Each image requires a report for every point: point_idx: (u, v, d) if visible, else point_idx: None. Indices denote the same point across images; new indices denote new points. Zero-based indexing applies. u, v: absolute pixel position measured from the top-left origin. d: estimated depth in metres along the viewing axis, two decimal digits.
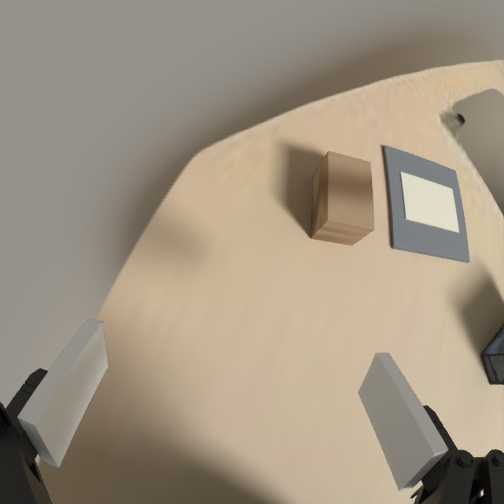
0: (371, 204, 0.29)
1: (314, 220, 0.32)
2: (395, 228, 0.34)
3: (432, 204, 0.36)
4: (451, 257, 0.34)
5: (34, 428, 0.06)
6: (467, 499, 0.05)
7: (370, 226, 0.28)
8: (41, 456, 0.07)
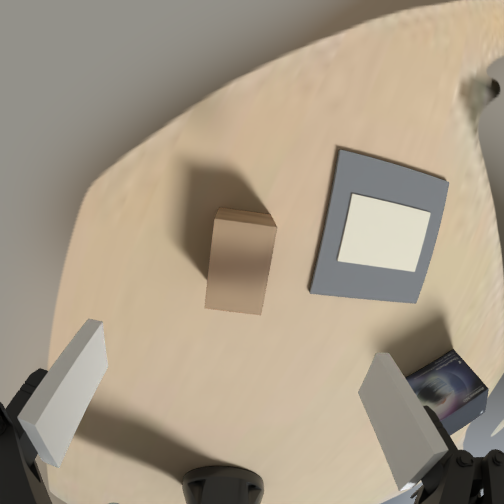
0: (263, 287, 0.26)
1: None
2: (318, 272, 0.31)
3: (387, 238, 0.30)
4: (390, 300, 0.32)
5: (33, 428, 0.06)
6: (467, 499, 0.05)
7: (256, 312, 0.27)
8: (41, 456, 0.07)
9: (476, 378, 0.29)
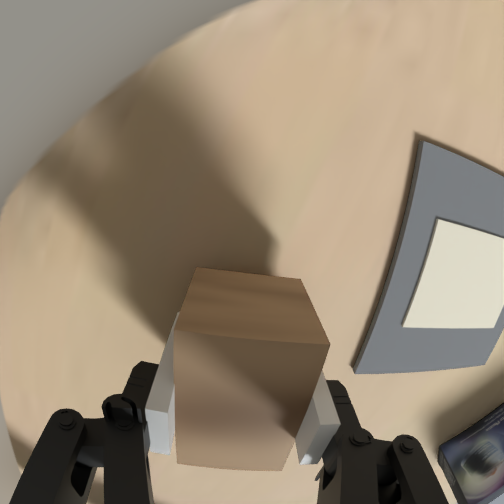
0: (290, 441, 0.11)
1: None
2: (371, 345, 0.17)
3: (472, 287, 0.16)
4: (457, 366, 0.19)
5: (163, 417, 0.08)
6: (375, 481, 0.06)
7: (274, 468, 0.12)
8: (152, 446, 0.09)
9: None
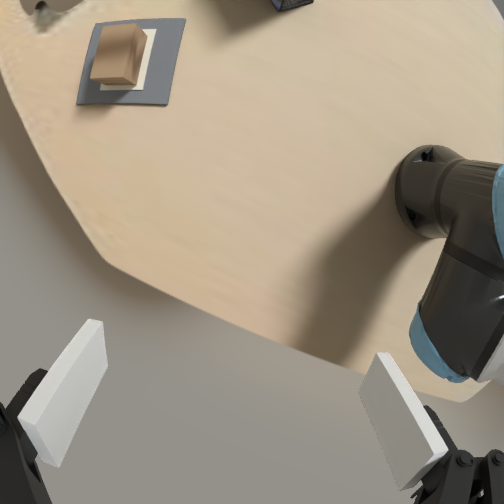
0: (125, 58, 0.30)
1: None
2: (151, 101, 0.37)
3: None
4: (179, 40, 0.34)
5: (33, 428, 0.06)
6: (467, 499, 0.05)
7: (120, 75, 0.30)
8: (41, 456, 0.07)
9: None
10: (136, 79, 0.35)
